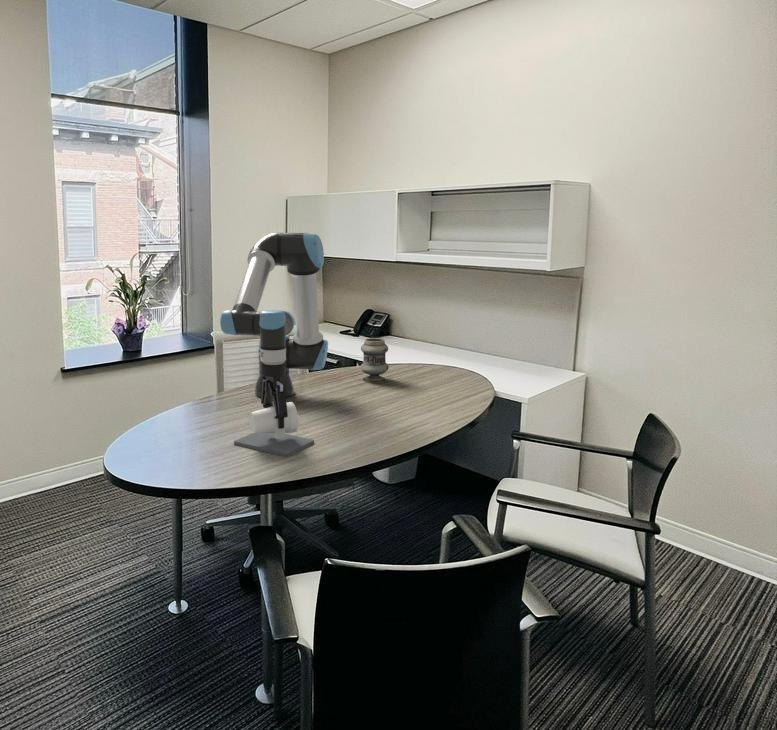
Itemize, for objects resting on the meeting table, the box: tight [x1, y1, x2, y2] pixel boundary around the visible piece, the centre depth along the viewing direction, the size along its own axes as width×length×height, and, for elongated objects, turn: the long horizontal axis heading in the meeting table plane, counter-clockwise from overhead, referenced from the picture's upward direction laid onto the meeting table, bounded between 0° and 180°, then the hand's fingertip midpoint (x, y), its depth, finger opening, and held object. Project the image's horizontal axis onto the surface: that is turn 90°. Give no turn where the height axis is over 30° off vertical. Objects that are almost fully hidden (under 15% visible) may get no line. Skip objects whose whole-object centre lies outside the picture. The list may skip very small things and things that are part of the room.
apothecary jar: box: [360, 337, 389, 384], centre depth 276 cm, size 12×12×18 cm
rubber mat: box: [233, 432, 315, 458], centre depth 198 cm, size 20×14×1 cm
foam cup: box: [248, 401, 299, 434], centre depth 196 cm, size 10×9×13 cm
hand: (274, 432), depth 197 cm, fingers closed on foam cup, 9 cm apart
